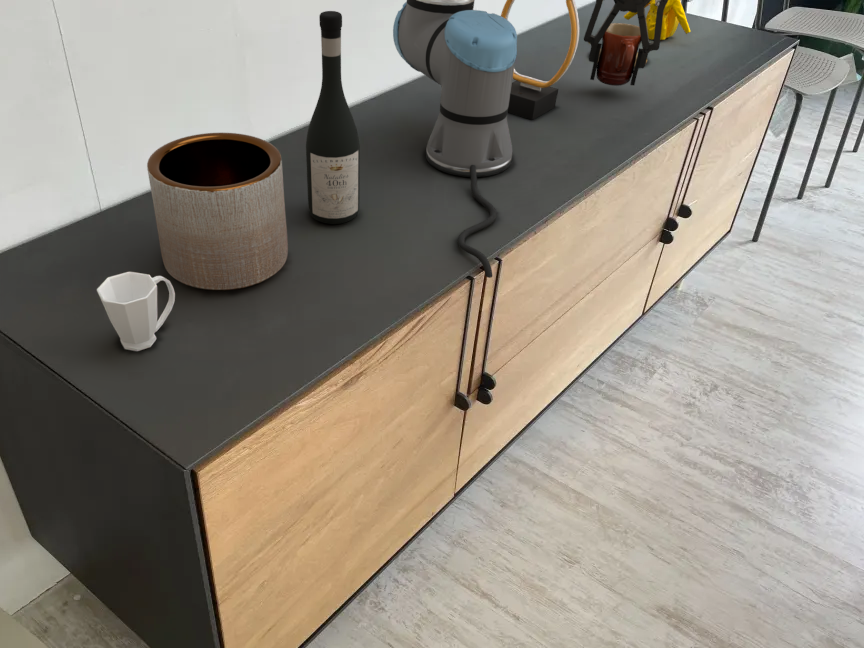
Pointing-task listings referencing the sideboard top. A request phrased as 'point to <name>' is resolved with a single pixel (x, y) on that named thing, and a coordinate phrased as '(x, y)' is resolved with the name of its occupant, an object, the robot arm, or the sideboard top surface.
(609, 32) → the mug
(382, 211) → the sideboard top surface
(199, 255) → the planter
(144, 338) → the cup
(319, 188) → the wine bottle
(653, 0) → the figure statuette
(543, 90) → the lamp
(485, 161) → the robot arm
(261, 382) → the sideboard top surface
